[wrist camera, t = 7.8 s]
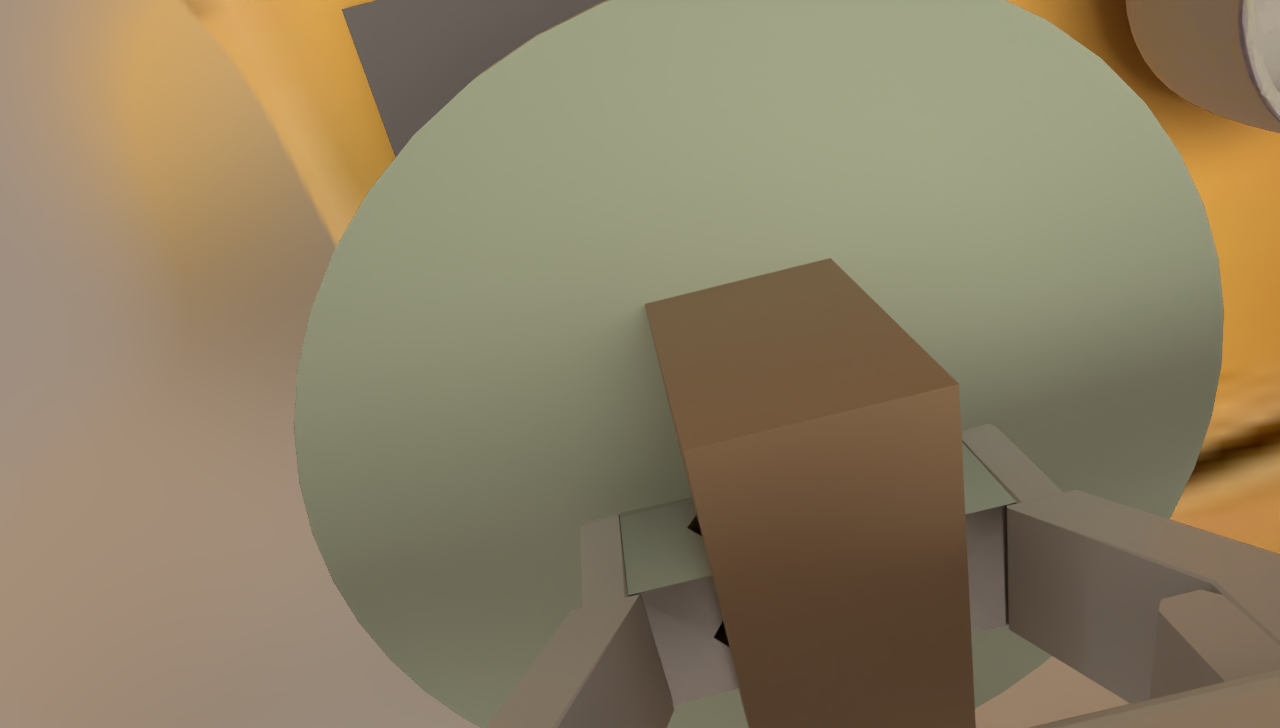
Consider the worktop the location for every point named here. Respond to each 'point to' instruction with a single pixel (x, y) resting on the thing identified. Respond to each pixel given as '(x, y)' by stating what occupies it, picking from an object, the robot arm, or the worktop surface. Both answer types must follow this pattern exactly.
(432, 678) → the lid
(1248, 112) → the teacup
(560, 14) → the mat
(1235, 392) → the worktop surface
